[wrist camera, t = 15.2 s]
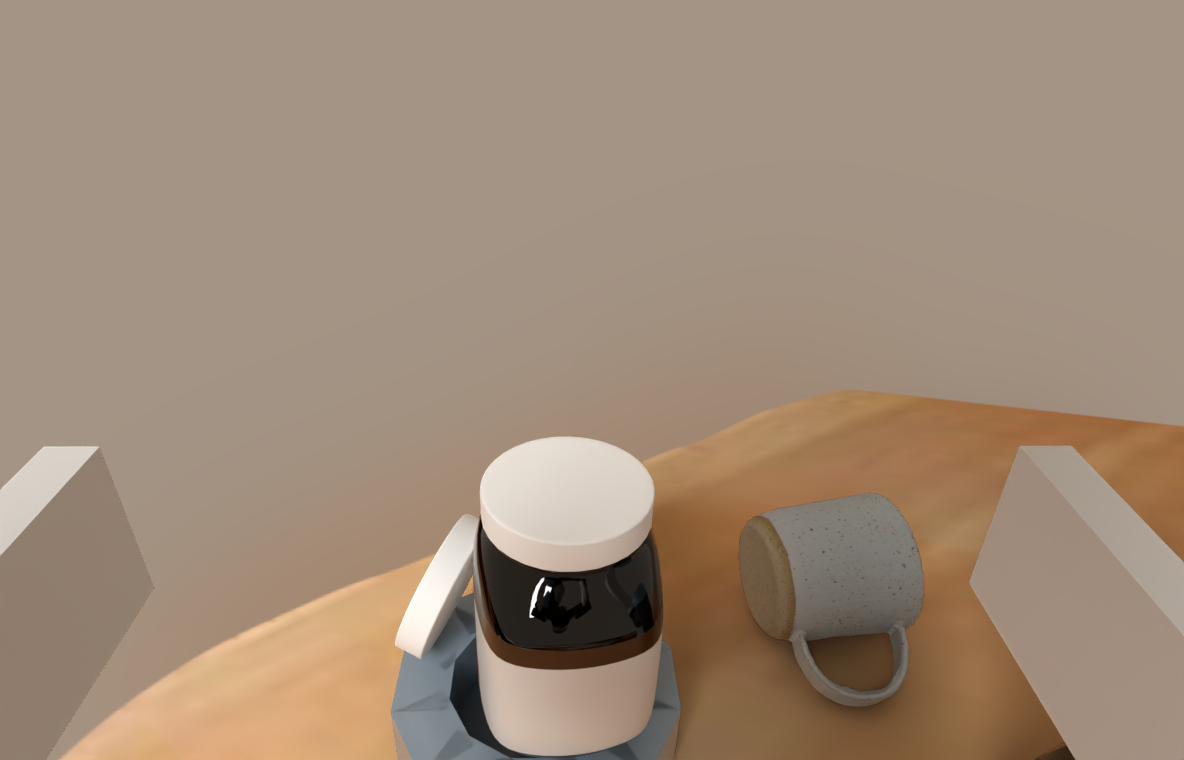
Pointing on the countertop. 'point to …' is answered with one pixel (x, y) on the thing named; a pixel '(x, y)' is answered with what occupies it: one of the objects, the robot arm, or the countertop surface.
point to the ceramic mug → (834, 581)
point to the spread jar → (555, 597)
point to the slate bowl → (456, 716)
